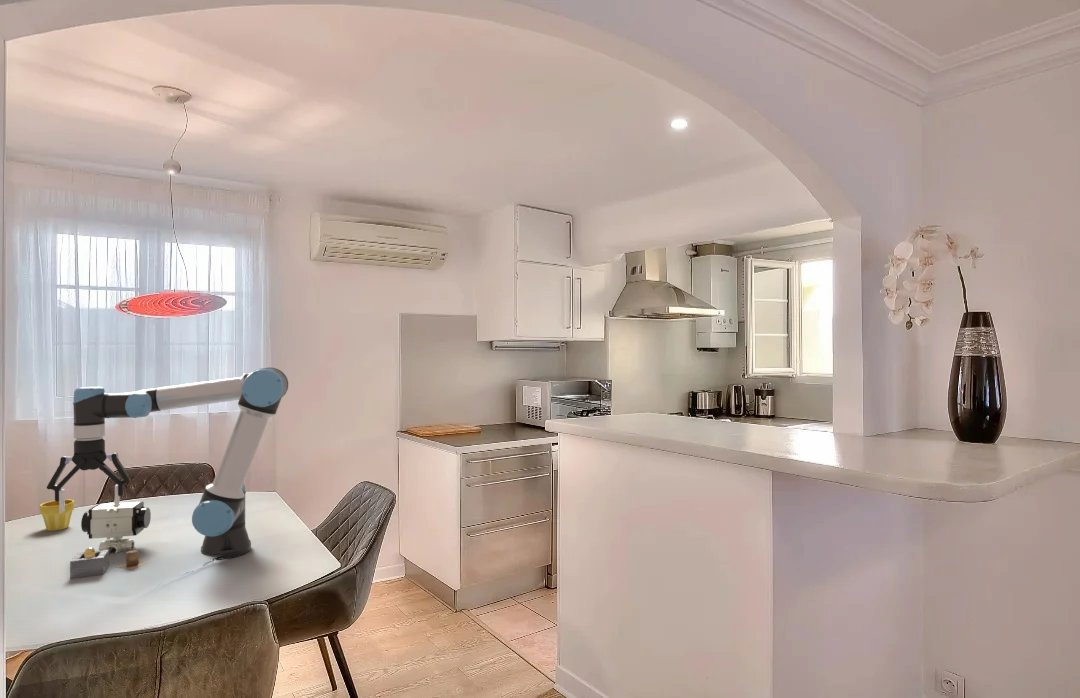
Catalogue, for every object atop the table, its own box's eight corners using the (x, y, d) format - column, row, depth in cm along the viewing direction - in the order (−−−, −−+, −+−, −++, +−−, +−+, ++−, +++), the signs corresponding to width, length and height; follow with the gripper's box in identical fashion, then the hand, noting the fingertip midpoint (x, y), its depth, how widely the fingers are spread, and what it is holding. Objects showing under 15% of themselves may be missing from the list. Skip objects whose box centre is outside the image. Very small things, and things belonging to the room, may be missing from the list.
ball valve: (78, 560, 197) (78, 506, 197) (90, 552, 206) (90, 499, 205) (142, 555, 202) (142, 502, 202) (151, 547, 210) (151, 496, 210)
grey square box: (108, 565, 189) (108, 549, 189) (103, 574, 182) (103, 557, 182) (77, 569, 186) (77, 553, 186) (70, 578, 178) (70, 561, 178)
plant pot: (40, 534, 225) (40, 507, 225) (39, 527, 233) (39, 502, 233) (75, 528, 232) (75, 503, 232) (73, 522, 240) (73, 497, 240)
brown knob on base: (148, 567, 192) (148, 549, 192) (131, 574, 186) (131, 556, 186) (133, 565, 193) (133, 548, 193) (115, 572, 187) (115, 554, 187)
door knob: (108, 574, 186) (108, 545, 186) (87, 581, 180) (87, 552, 180) (91, 572, 188) (91, 543, 188) (71, 579, 181) (70, 550, 181)
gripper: (140, 434, 192) (141, 501, 192) (41, 439, 181) (41, 511, 182) (136, 437, 185) (137, 507, 186) (33, 443, 175) (33, 517, 175)
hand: (90, 509), depth 184 cm, fingers open, 13 cm apart
